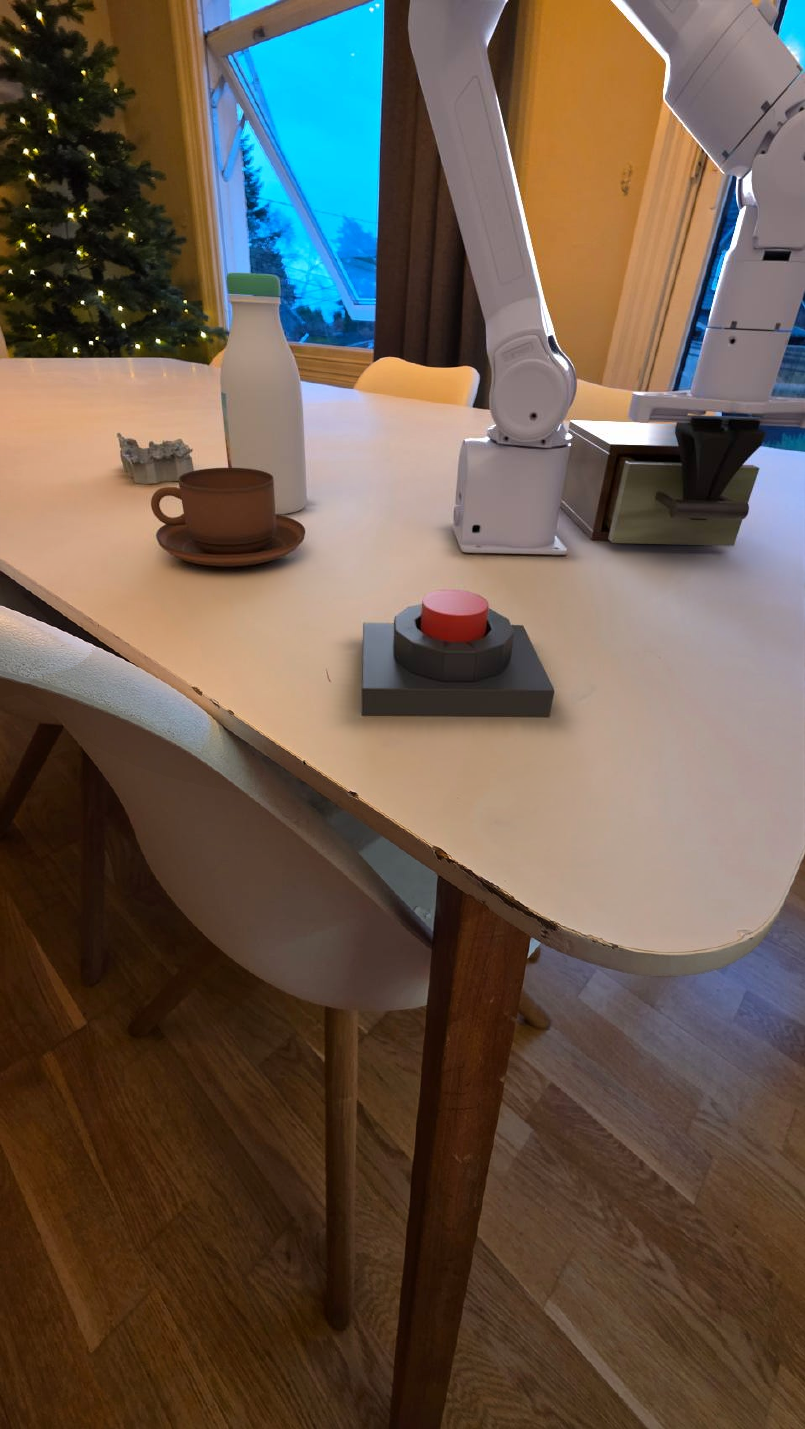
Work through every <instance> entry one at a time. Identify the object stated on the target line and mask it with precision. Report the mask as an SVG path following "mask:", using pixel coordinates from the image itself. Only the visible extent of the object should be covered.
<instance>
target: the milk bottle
mask: <svg viewBox="0 0 805 1429" xmlns="http://www.w3.org/2000/svg"><path fill="white" fill-rule="evenodd" d="M226 289H227V294H228V302H229V303H230V305H231V325H230V330H229V335H228V338H227V342H226V346H225V348H224V352H223V355H222V360H221V364H220V365H221V366H220V377H219V378H220V381H219V383H220V399H221V400H220V401H221V411H222V420H223V430H224V431H223V432H224V441H225V449H226V460H227V468H247V469H255V470H260V471H264V472H267V473H269V474H271V475H272V476H273V479H274V495H275V513H276V514H277V515H283V514H285V515H286V514H291V513H295V512H298V511H301V510H302V509H304V508H305V507H306V505H307V502H308V489H307V485H308V484H307V464H306V461H307V460H306V442H305V441H306V440H305V424H304V423H305V422H304V406H303V405H304V404H303V403H304V402H303V392H302V390H303V389H302V382H301V376H300V371H299V368H298V365H297V362H296V359H295V356H294V354H293V352H292V350H291V347H290V345H289V343H288V339H287V337H286V334H285V331H284V328H283V325H282V322H281V317H280V305H281V304H282V302H281V280H280V277H279V276H278V275H275V274H269V273H268V274H267V273H255V272H253V273H252V272H228V273H227V274H226Z"/></svg>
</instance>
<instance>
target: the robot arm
mask: <svg viewBox="0 0 805 1429" xmlns="http://www.w3.org/2000/svg"><path fill="white" fill-rule="evenodd" d="M507 2H508V0H409V7H408V8H409V9H408V18H407V20H408V21H407V31H408V39H409V46H410V49H411V50H410V51H411V53H412V57H413V60H414V63H415V69H416V73H417V75H418V79H419V83H420V86H421V90H422V94H423V98H424V102H425V105H426V109H427V112H428V116H429V120H430V124H431V128H432V131H433V134H434V138H435V142H436V145H437V150H438V154H439V156H440V161H441V165H442V168H443V171H444V175H445V179H446V182H447V186H448V190H449V193H450V197H451V201H452V205H453V209H454V212H455V215H456V219H457V223H458V227H459V230H460V234H461V237H462V241H463V245H464V250H465V253H466V256H467V261H468V264H469V267H470V272H471V274H472V280H473V282H474V287H475V290H476V293H477V297H478V301H479V304H480V309H481V312H482V316H483V319H484V323H485V338H486V340H485V341H486V342H485V343H486V345H485V346H486V354H487V357H488V362H489V366H490V370H491V381H490V382H491V383H490V389H489V394H488V404H489V405H488V406H489V412H490V415H491V418H492V420H493V423H494V425H491V426H489V428H487V430H486V436H485V437H481V438H465V439H463V440H462V442H461V445H460V449H459V451H460V452H459V456H458V464H457V465H458V466H457V477H456V489H455V500H454V508H453V517H452V518H453V519H452V521H453V522H452V526H451V527H452V529H453V532H454V535H455V538H456V541H457V543H458V546H459V548H460V551H461V552H463V553H468V554H469V553H471V554H473V553H475V554H511V555H512V554H514V555H515V554H517V555H556V556H557V555H558V556H559V555H562V556H565V555H567V554H568V548H567V546H566V545H565V544H564V543H563V541H561V539H560V538H559V537H558V536H557V534H556V532H557V528H558V521H559V516H560V515H559V514H560V511H561V510H560V509H561V507H560V504H561V498H562V493H563V487H564V481H565V475H566V469H567V464H568V458H569V452H570V446H571V441H572V435H570V434H569V433H568V430H567V429H566V428H565V425H564V420H565V419H566V418H567V416H568V413H569V410H570V409H571V407H572V405H573V404H574V401H575V398H576V394H577V389H578V377H577V373H576V370H575V366H574V365H573V363H572V361H571V360H570V358H569V356H567V355H566V354H565V353H564V352H563V350H562V349H561V347H560V346H559V343H558V342H557V337H556V335H555V330H554V326H553V323H552V319H551V316H550V314H549V311H548V310H549V309H548V307H547V304H546V301H545V296H544V293H543V289H542V284H541V280H540V275H539V271H538V267H537V262H536V258H535V255H534V250H533V246H532V241H531V237H530V233H529V228H528V224H527V220H526V216H525V211H524V206H523V203H522V197H521V194H520V190H519V186H518V180H517V177H516V172H515V168H514V162H513V159H512V155H511V151H510V146H509V142H508V136H507V133H506V129H505V125H504V120H503V116H502V112H501V107H500V103H499V99H498V95H497V89H496V86H495V82H494V77H493V73H492V68H491V65H490V60H489V55H488V46H489V43H490V40H491V39H492V36H493V34H494V32H495V29H496V27H497V25H498V22H499V20H500V17H501V14H502V13H503V10H504V8H505V6H506V4H507ZM611 2H612V3H613V4H614V5H615V6H616V7H617V8H618V9H619V11H620V12H621V13H622V14H623V15H624V16H625V17H626V18H627V20H629V22H630V23H631V24H632V25H633V26H634V28H636V29H637V31H638V32H639V33H640V34H641V35H642V36H643V37H644V38H645V39H646V41H647V42H648V43H649V44H650V45H651V46H652V48H654V49H655V50H656V52H657V53H658V54H659V55H660V56H661V57H662V59H664V61H665V66H666V67H665V76H664V86H663V102H664V103H665V104H666V105H667V107H668V108H669V109H670V110H671V112H672V113H673V114H674V115H675V116H676V118H677V119H678V121H680V123H681V124H682V125H683V127H684V128H685V129H686V130H687V132H688V133H689V134H690V135H691V136H692V137H693V138H694V140H695V141H696V142H697V143H698V145H699V146H700V147H701V148H702V150H703V151H704V152H705V154H706V155H707V156H708V157H709V158H710V159H711V161H712V162H713V163H714V164H715V166H717V168H718V169H719V171H720V172H721V173H722V174H723V175H726V176H734V177H736V186H735V194H736V195H735V196H736V203H737V207H738V210H739V214H738V217H737V220H736V225H735V229H734V233H733V236H732V239H731V244H730V247H729V249H728V250H727V251H726V253H725V256H724V259H723V262H722V267H721V270H720V274H719V279H718V282H717V286H716V290H715V294H714V297H713V302H712V305H711V310H710V313H709V317H708V322H707V325H706V329H705V332H704V336H703V340H702V344H701V347H700V352H699V355H698V359H697V364H696V368H695V371H694V375H693V379H692V383H691V386H690V391H683V392H682V391H681V392H680V391H679V392H678V391H675V392H674V391H673V392H672V391H671V392H670V391H669V392H666V391H665V392H649V391H648V392H644V391H642V392H641V391H640V392H639V391H633V392H632V395H631V400H630V404H629V409H628V414H627V419H628V420H630V421H632V422H633V423H675V424H676V427H675V435H676V438H677V442H678V446H679V451H680V456H681V463H682V472H683V500H705V501H718V499H719V497H720V496H721V494H722V492H723V491H724V489H725V488H726V486H727V485H728V483H729V482H730V480H731V479H732V478H733V476H734V475H735V474H736V472H737V471H738V470H739V469H740V467H741V466H742V465H745V463H746V462H747V461H748V460H749V459H750V458H751V456H752V455H753V454H755V453H756V452H757V450H759V448H761V447H762V445H763V443H764V441H765V437H766V435H767V432H766V431H765V430H762V429H759V427H760V426H767V427H768V426H769V427H770V426H771V427H797V428H798V427H799V428H801V429H805V398H804V397H787V396H773V395H772V393H773V390H774V388H775V384H776V380H777V378H778V375H779V371H780V368H781V365H782V362H783V360H784V356H785V353H786V349H787V346H788V343H789V340H790V338H791V335H792V331H793V329H794V325H795V324H796V323H795V322H796V319H797V317H798V313H799V310H800V307H801V304H802V300H803V298H804V295H805V70H804V68H803V67H802V65H801V64H800V63H799V61H798V60H797V58H796V57H795V56H794V55H793V53H792V52H791V51H790V50H789V48H788V47H787V45H786V44H785V43H784V42H783V40H782V39H781V38H780V36H779V35H778V34H777V33H776V31H775V29H773V27H772V26H773V25H774V23H775V22H776V20H777V18H778V16H779V13H780V12H779V9H778V8H777V7H776V6H775V4H774V3H773V1H772V0H760V1H759V3H758V4H757V5H755V3H753V1H752V0H611ZM707 412H713V413H726V414H727V413H728V414H740V415H741V414H742V415H743V414H744V415H747V416H733V415H732V416H729V415H728V416H727V415H707ZM689 519H690V520H707V519H700V518H689Z"/></svg>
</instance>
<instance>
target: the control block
mask: <svg viewBox="0 0 805 1429" xmlns="http://www.w3.org/2000/svg"><path fill="white" fill-rule="evenodd" d="M421 612H422V603H420V604H415V605H411V606H407V607H406V608H405V609H403V610H402V611H400V612H399V613H397V615H395V616H394V617H393V618H394V619H393V622H363V623H362V654H361V655H362V658H361V660H362V661H361V716H362V717H440V718H441V717H442V718H443V717H446V718H447V717H448V718H449V717H450V718H451V717H456V718H550V716H551V711H552V705H553V701H554V697H555V689H554V686H553V684H552V682H551V680H550V678H549V676H548V674H547V672H546V670H545V667H544V666H543V664H542V662H541V659H540V657H539V656H538V653H537V651H536V650H535V647H534V644H533V643H532V641H531V639H530V637H529V634H528V633H527V630H526V629H525V626H524V625H523V624H511V622H510V619H509V618H508V617H506V616H504V615H502V614H501V613H498V612H496V611H495V610H494V609H491V608H488V616H487V624H486V633H485V636H484V638H480V639H477V640H473V641H469V642H447V641H443V640H439V639H435V638H431V637H428V636H427V635H425V634H424V633H422V632H421Z"/></svg>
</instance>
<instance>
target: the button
mask: <svg viewBox="0 0 805 1429" xmlns="http://www.w3.org/2000/svg"><path fill="white" fill-rule="evenodd" d="M421 604H422V612H421V632H422V633H424V634H425V635H427V636H428V637H431V638H435V639H439V640H443V641H447V642H469V641H473V640H477V639H480V638H484V636H485V633H486V624H487V616H488V608H489V607H490V604H489V601H488V600H487V599H486V598H485V597H484V596H482V595H480V594H479V593H478V594H477V593H475V592H472V591H468V590H461V589H439V590H435V591H431V592H429V593H427V594H425V595H424V596H423V597H422V599H421Z"/></svg>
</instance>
